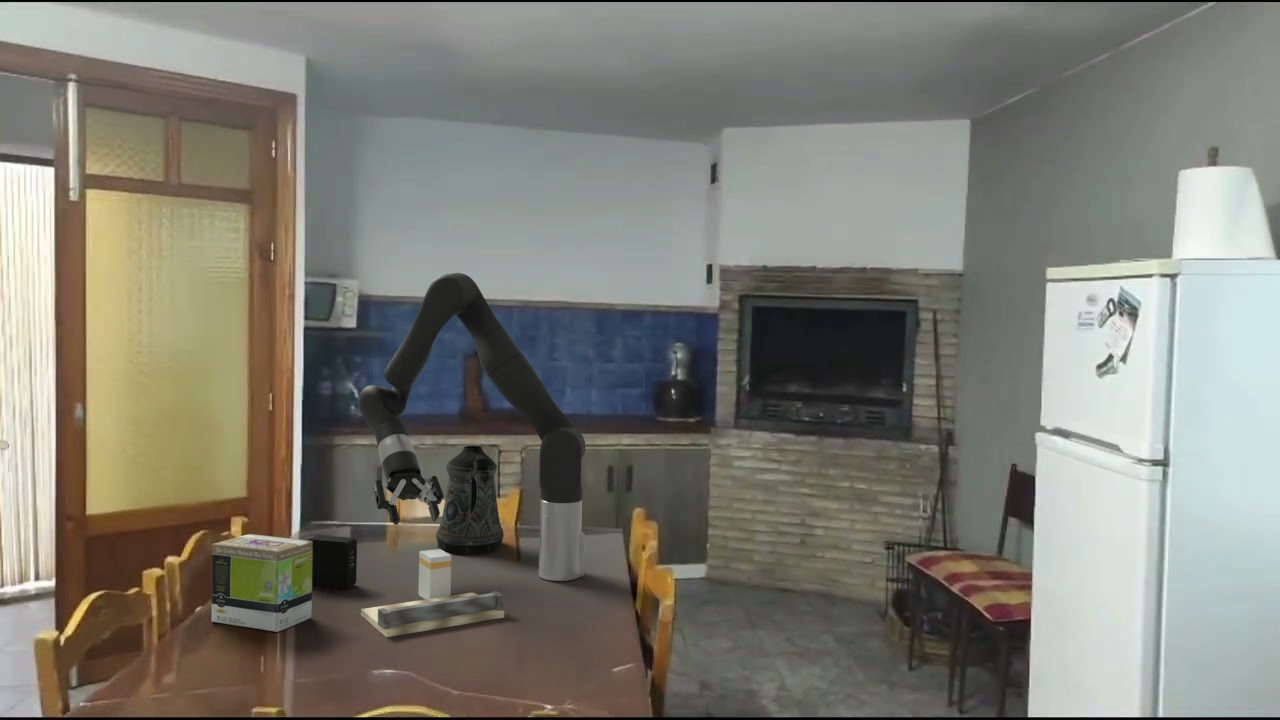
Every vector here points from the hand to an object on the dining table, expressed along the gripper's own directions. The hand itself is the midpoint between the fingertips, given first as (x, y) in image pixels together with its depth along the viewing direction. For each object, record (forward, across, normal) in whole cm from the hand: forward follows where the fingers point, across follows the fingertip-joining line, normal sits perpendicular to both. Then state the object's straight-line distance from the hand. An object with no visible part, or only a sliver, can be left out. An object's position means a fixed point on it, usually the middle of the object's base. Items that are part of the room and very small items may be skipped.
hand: (416, 520), depth 199 cm
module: (+17, 0, +2) cm, 17 cm away
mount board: (+25, -5, -6) cm, 26 cm away
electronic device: (+5, -16, +15) cm, 22 cm away
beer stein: (-7, +24, +26) cm, 36 cm away
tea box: (+16, -33, +3) cm, 37 cm away
